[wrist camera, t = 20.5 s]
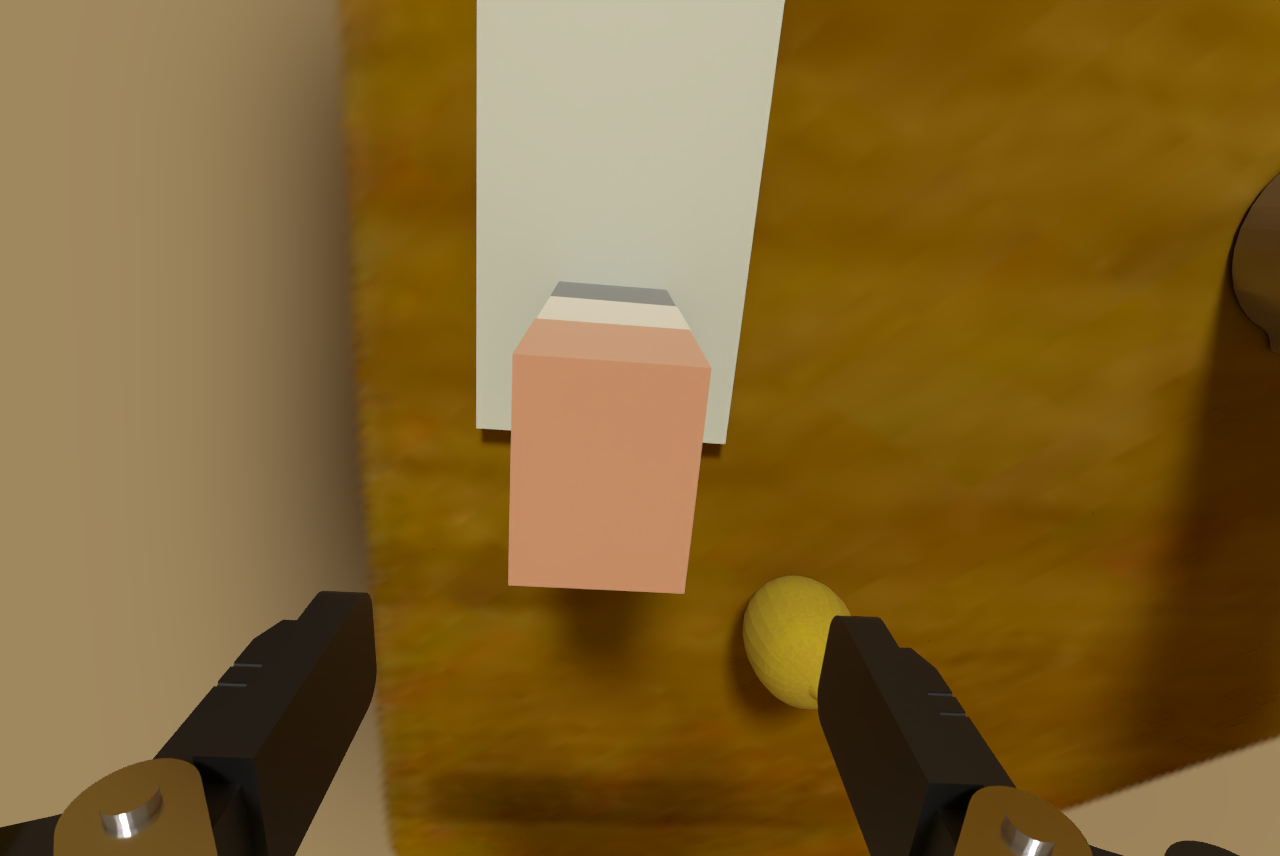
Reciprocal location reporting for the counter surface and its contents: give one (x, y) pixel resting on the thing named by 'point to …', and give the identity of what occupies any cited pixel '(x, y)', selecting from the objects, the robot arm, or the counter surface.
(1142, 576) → the counter surface
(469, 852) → the counter surface
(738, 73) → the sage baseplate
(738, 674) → the counter surface
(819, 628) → the lemon
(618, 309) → the cream brick
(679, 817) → the counter surface
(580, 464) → the terracotta brick
